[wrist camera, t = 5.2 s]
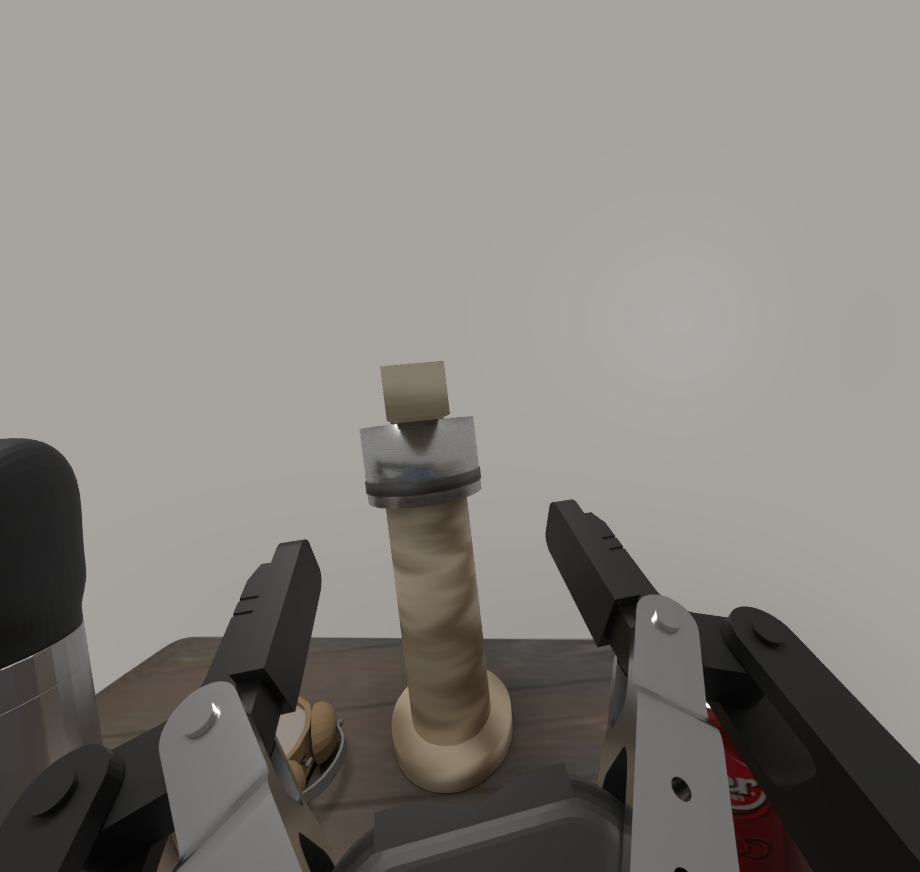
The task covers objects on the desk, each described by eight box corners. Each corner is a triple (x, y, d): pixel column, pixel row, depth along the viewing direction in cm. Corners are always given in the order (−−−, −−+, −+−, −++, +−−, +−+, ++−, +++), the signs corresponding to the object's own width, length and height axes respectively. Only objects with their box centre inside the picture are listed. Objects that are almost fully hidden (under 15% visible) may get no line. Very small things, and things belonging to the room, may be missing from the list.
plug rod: (462, 412, 18) (453, 333, 18) (373, 422, 18) (362, 340, 18) (439, 421, 36) (435, 381, 36) (394, 426, 36) (389, 385, 35)
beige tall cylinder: (445, 830, 25) (395, 423, 24) (372, 730, 34) (334, 432, 33) (537, 721, 33) (503, 413, 32) (458, 664, 41) (430, 423, 40)
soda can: (736, 778, 26) (722, 631, 25) (850, 916, 18) (834, 713, 18) (647, 793, 25) (632, 644, 25) (728, 940, 18) (709, 733, 18)
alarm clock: (243, 697, 37) (361, 678, 34) (256, 739, 37) (374, 724, 34) (124, 817, 26) (283, 805, 23) (141, 878, 26) (303, 873, 23)
